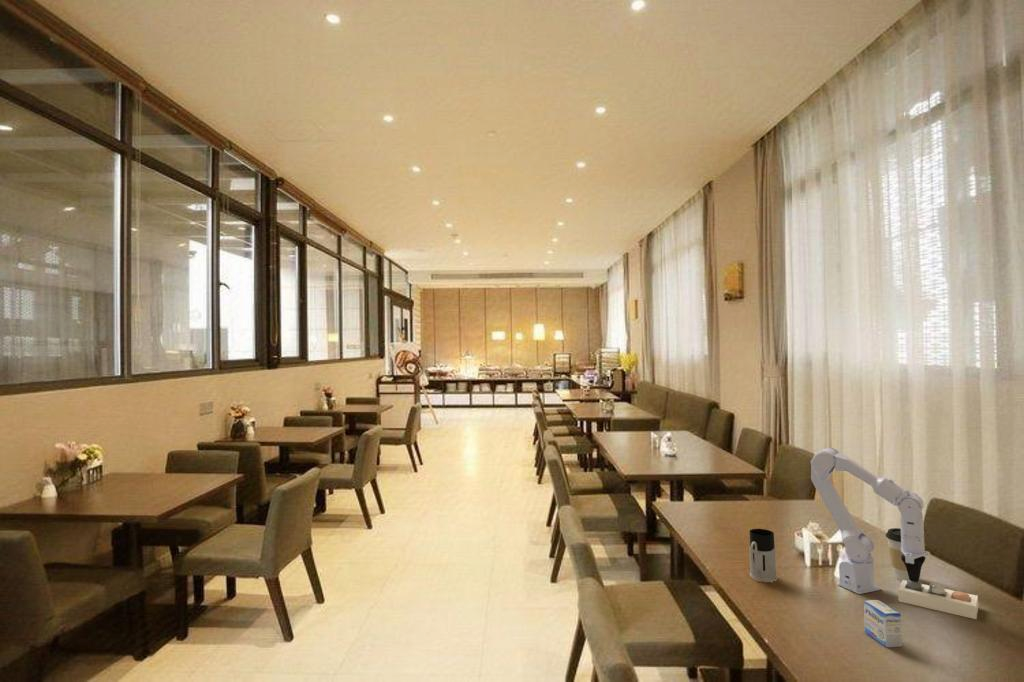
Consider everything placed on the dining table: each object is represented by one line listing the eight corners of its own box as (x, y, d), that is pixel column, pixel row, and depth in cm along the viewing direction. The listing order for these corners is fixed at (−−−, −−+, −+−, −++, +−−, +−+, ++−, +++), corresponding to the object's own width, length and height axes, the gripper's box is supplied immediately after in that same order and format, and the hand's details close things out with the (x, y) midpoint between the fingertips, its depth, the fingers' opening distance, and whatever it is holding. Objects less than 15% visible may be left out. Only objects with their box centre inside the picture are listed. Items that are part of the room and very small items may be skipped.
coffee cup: (930, 585, 178) (928, 537, 178) (895, 583, 180) (893, 536, 180) (914, 573, 188) (912, 528, 188) (881, 571, 190) (880, 527, 190)
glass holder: (781, 576, 188) (779, 531, 188) (766, 590, 178) (764, 542, 178) (754, 570, 194) (753, 526, 194) (738, 583, 184) (737, 537, 184)
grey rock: (929, 596, 165) (928, 586, 165) (930, 592, 168) (930, 582, 168) (944, 599, 163) (944, 589, 163) (945, 595, 165) (945, 585, 165)
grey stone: (906, 591, 169) (906, 581, 169) (908, 587, 171) (907, 577, 171) (921, 594, 166) (920, 584, 166) (922, 590, 169) (922, 580, 169)
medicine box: (864, 632, 150) (863, 600, 150) (879, 631, 151) (878, 599, 151) (886, 648, 142) (885, 613, 142) (902, 647, 143) (901, 612, 143)
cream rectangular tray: (898, 601, 168) (898, 589, 168) (903, 591, 174) (902, 579, 174) (976, 619, 156) (975, 606, 156) (978, 607, 162) (977, 595, 162)
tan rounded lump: (952, 604, 161) (952, 594, 161) (954, 600, 164) (953, 590, 164) (968, 608, 159) (968, 597, 159) (969, 603, 161) (969, 593, 162)
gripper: (925, 544, 161) (927, 592, 161) (931, 531, 172) (933, 576, 171) (896, 539, 166) (898, 585, 166) (903, 527, 177) (905, 570, 176)
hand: (914, 580), depth 169 cm, fingers closed
